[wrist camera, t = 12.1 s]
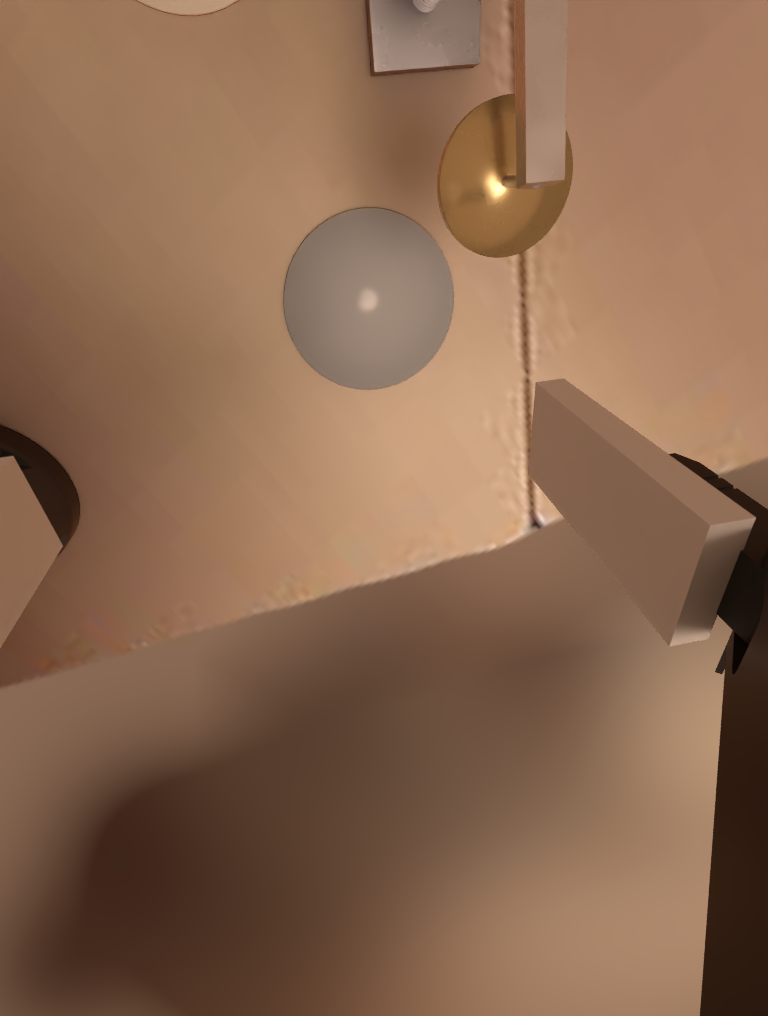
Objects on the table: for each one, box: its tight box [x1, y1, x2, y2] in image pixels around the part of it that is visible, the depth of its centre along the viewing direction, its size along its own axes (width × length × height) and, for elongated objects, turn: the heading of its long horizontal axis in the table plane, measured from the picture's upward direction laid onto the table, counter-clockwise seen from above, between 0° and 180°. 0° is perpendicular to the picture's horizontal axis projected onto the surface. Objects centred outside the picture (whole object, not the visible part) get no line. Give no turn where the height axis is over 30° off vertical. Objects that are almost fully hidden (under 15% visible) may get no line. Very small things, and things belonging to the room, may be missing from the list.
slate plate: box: [284, 208, 454, 390], centre depth 42 cm, size 14×14×1 cm
